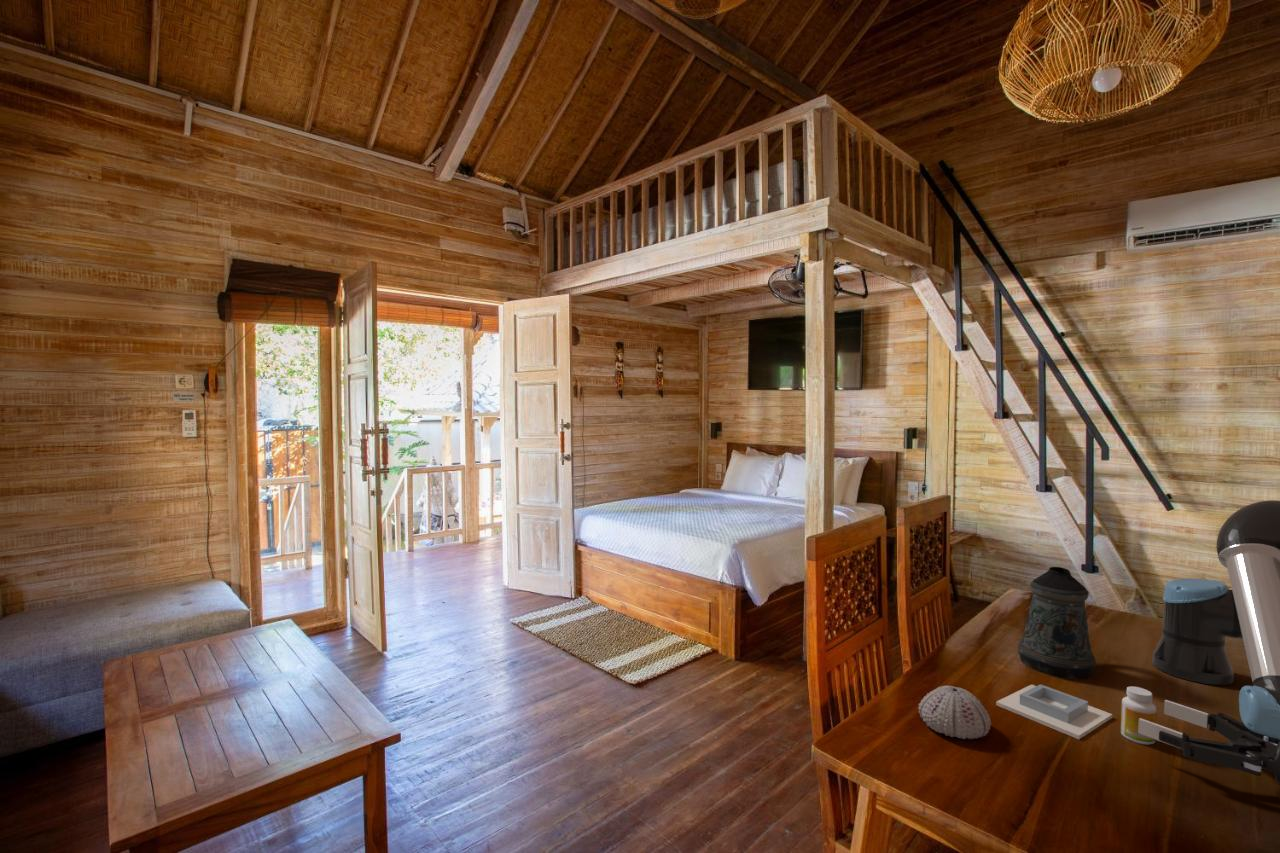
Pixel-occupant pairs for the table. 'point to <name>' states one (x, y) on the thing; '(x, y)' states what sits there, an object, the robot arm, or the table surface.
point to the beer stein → (1058, 627)
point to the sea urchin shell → (955, 713)
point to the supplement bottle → (1137, 714)
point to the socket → (1055, 710)
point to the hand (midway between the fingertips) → (1152, 715)
